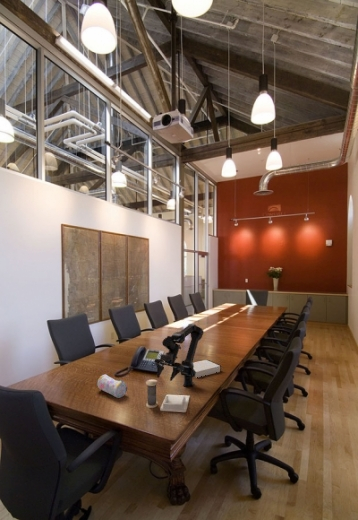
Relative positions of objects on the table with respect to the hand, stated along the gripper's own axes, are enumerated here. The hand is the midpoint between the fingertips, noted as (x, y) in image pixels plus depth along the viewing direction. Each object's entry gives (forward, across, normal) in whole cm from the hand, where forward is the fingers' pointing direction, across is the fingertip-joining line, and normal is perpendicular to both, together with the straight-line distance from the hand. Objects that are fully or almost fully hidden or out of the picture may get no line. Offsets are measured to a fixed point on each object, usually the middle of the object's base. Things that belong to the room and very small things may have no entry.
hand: (164, 379), depth 159 cm
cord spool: (+15, -3, +2) cm, 15 cm away
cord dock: (+10, +7, +8) cm, 15 cm away
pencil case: (+16, -34, +1) cm, 38 cm away
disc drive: (-21, -5, +51) cm, 55 cm away
